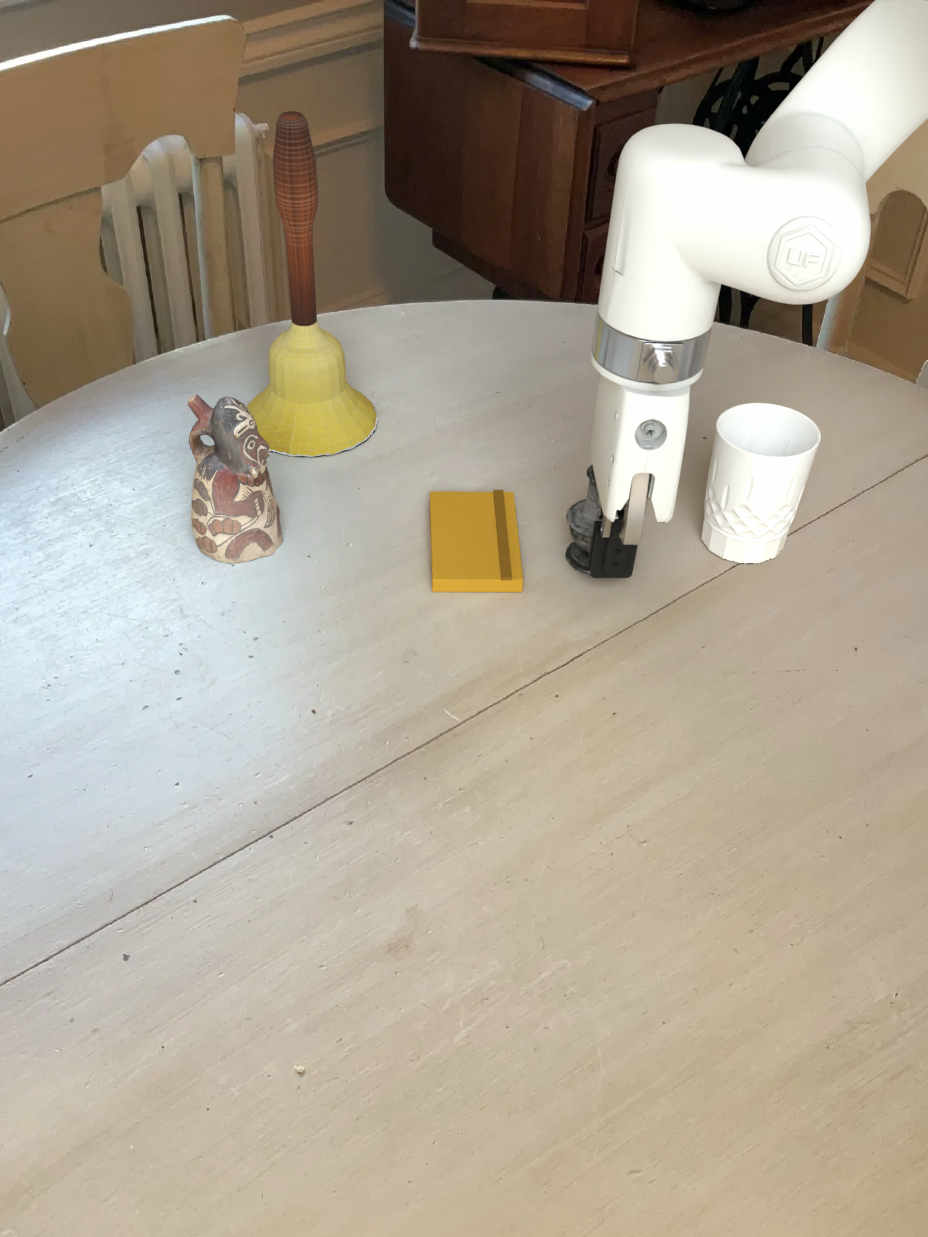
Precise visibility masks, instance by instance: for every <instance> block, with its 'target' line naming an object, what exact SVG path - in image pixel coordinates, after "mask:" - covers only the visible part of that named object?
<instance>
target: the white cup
mask: <svg viewBox="0 0 928 1237" xmlns="http://www.w3.org/2000/svg"><path fill="white" fill-rule="evenodd" d="M715 422H716V423H715V429H714V434H713V435H714V437H713V442H712V448H711V454H710V461H709V468H708V473H707V474H708V475H707V480H706V487H705V498H704V503H703V506H704V512H703V513H704V514H703V520H702V526H701V538H700V539H701V541H702V543H703V544H704V545H705V547H706V548H707V550H708V551H709V552H711V553H713V554H714V555H716V556H717V557H718V558H721V559H722V560H725V559H726V560H725V561H729V562H733V561H734V562H733V563H738V564H741V563H744V564H746V563H753V564H762V563H765V562H767V561H766V560H768V561H770V560H769V559H770V558H771V560H773V558H774V559H776V557H777V556H778V555H779V554H780V553H781V552H782V551H783V550H784V548H785V544H786V542H787V538H788V536H789V531H790V530H791V525H792V523H793V521H794V519H795V517H796V514H797V511H798V508H799V505H800V502H801V500H802V497H803V495H804V492H805V488H806V485H807V482H808V479H809V477H810V473H811V471H812V467H813V464H814V461H815V458H816V454H817V452H818V449H819V446H820V444H821V443H820V442H821V439H822V434H821V430H820V428H819V427H818V424H817V423H815V422H814V420H813V419H811V418H810V417H808V415H806V414H804V413H802V412H800V411H799V410H796V409H794V408H791V407H789V406H788V407H787V406H784V405H780V404H775V403H770V402H748V403H741V404H737V405H734V406H731V407H729V408H727V409H726V410H724V411H723V412H722V413H720V414H719V416H718V417H717V419H716V421H715ZM781 550H782V551H781ZM780 551H781V552H780ZM764 561H765V562H764ZM761 562H762V563H761Z"/></svg>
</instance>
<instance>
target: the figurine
mask: <svg viewBox="0 0 928 1237" xmlns="http://www.w3.org/2000/svg"><path fill="white" fill-rule="evenodd" d="M187 406H188V408H189V409H190V411H191V412H192V413H193V414H194V416H195V417H196V419H197V420H196V422H195V423H194V424H193V426H192V427H191V429H190V432H189V435H188V444H189V448H190V452H191V453H192V455H193V458H194V460H195V464H196V465H195V469H194V473H193V479H192V480H193V481H192V487H191V488H192V490H191V503H190V504H191V505H190V524H191V530H192V534H193V539H194V542H195V545H196V546H197V547H198V549H199V551H200V552H201V554H203V553H204V554H203V555H205V556H206V557H208V556H209V557H208V558H210V557H211V558H210V559H212V558H213V559H212V560H214V561H216V562H219V561H220V562H219V563H223V564H230V563H231V564H232V565H233V564H239V563H248V562H251V561H255V560H257V559H260V558H265V557H269V556H271V555H274V554H275V553H276V551H277V549H278V548H279V547H280V546H281V545H282V543H283V542H284V538H283V532H282V527H281V513H280V512H281V511H280V508H279V506H278V503H277V501H276V498H275V494H274V491H273V484H272V481H271V476H270V472H269V471H270V470H269V469H268V466H267V459H268V458H269V457H270V454H271V452H270V451H269V445H268V444H267V442H266V441H265V440H264V439H263V438H262V436H261V435H260V434H259V432H258V429H257V424H256V422H255V420H254V418H253V416H252V414H251V412H250V411H249V410H248V408H247V405H245V403H243V402H241V401H240V400H239V399H237V398H235V397H231V396H226V395H225V396H224V397H221V398H219V399H218V400H217V402H216V404H215V405H214V407H211V406H210V405H209V404H208V403H207V402H206V401H205V400H204V399H203V398H202V397H201V396H200V395H199V394H193V395H192V396H191V397H190V398H189V400H188V401H187ZM201 436H208V437H209V438H211V439H212V441H213V444H211V445H208V444H205V443H204V441H203V440H202V439H201Z"/></svg>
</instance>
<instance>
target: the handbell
mask: <svg viewBox="0 0 928 1237" xmlns="http://www.w3.org/2000/svg"><path fill="white" fill-rule="evenodd" d="M275 124H276V125H275V133H274V145H273V151H272V152H273V153H272V170H273V172H272V173H273V189H274V200H275V205H276V208H277V211H278V214H279V217H280V219H281V222H282V225H283V229H284V236H285V247H286V260H287V274H288V289H289V290H288V292H289V305H290V319H291V321H290V326H289V328H288V329H287V330H285V331H282V332H281V333H280V334H279V335H278V336H277V337H276V338H274V340H273V341H272V342H271V343H270V348H269V350H268V355H267V356H268V358H267V359H268V369H267V370H268V378H269V383H268V384H267V386H266V388H265V389H263V391H261V392H260V393H258V394H257V395H255V397H254V398H253V399H252V400H251V401H250V402H249V403H248V404H247V405H246V407H247V408H248V410H249V411H250V412H251V414H252V416H253V418H254V420H255V422H256V424H257V429H258V432H259V434H260V435H261V436H262V438H263V439H264V440H265V441H266V442H267V444H268V445H269V449H271V450H273V449H274V450H276V451H279V452H286V453H287V454H293V455H297V454H300V455H310V456H315V455H319V454H324V455H325V453H330V454H333V453H336V452H338V451H341V450H343V449H346V448H348V447H352V446H354V445H355V444H356V443H358V442H361V441H363V440H364V439H365V438H366V437H368V435H369V434H370V432H371V430H373V428H374V427H375V423H376V422H375V421H376V417H377V415H378V414H377V415H376V413H377V411H376V412H375V410H376V409H375V410H374V408H375V406H374V404H373V403H372V401H371V400H370V399H368V398H367V397H366V396H365V395H364V394H363V393H362V392H360V391H358V390H357V389H355V388H354V387H353V386H351V385H350V384H349V382H348V381H347V366H346V358H345V352H344V349H343V346H342V344H341V342H340V341H339V340H338V339H337V338H336V337H335V336H334V335H333V334H332V333H331V332H329V331H327V330H325V329H323V328H321V327H320V324H319V322H318V316H317V315H318V314H317V295H316V294H317V292H316V278H315V275H316V274H315V260H314V259H315V258H314V256H315V255H314V240H313V239H314V231H313V230H314V225H315V224H314V223H315V220H316V215H317V211H318V206H319V185H318V184H319V183H318V182H319V181H318V170H317V158H316V153H315V149H314V145H313V141H312V137H311V131H310V127H309V122H308V119H307V118H306V116H305V115H304V114H303V113H302V112H299V111H293V110H291V111H290V110H288V111H284V112H282V113H281V114H280V113H279V116H278V118H277V119H276V122H275ZM372 404H373V405H372ZM373 406H374V407H373Z"/></svg>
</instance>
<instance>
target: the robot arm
mask: <svg viewBox="0 0 928 1237" xmlns="http://www.w3.org/2000/svg"><path fill="white" fill-rule="evenodd" d="M926 121H928V0H874V1H873V2H871V3H870V4H869V5H868V6H867V7H866V8H865V9H864V10H863V11H862V12H860V14H859V15H858V16H857V17H855V19H853V21H851V22H850V24H848V26H847V27H846V28H845V29H844V30H843V31H842V32H841V33H840V34H839V35H838V36H837V37H836V38H835V40H834V41H832V43H831V44H830V45H829V47H828V48H827V49H826V50H825V51H824V52H823V53H822V55H821V56H820V57H819V58H818V59H817V60H816V62H814V64H813V65H812V66H811V67H810V68H809V70H808V71H807V72H806V73H805V75H804V76H803V77H802V78H801V79H800V80H799V82H798V83H797V84H796V85H795V86H794V88H793V89H792V90H791V91H790V92H789V93H788V95H787V96H786V97H785V98H784V99H783V100H782V101H781V103H780V104H779V105H778V107H776V109H775V110H774V111H773V113H772V114H771V115H770V117H769V118H768V119H767V120H766V121H765V123H764V124H763V126H762V127H761V128H760V130H759V131H758V133H757V135H756V136H755V138H754V139H753V141H752V143H751V145H750V146H749V149H748V151H747V153H746V155H745V158H744V156H743V154H742V151H741V148H740V147H739V146H738V145H737V144H736V143H735V142H734V140H732V139H731V138H730V137H728V136H727V135H726V134H723V133H721V132H718V131H716V130H713V129H711V128H708V127H704V126H700V125H695V124H686V123H664V124H656V125H651V126H648V127H645V128H643V129H641V130H639V131H637V132H636V133H634V134H632V136H631V137H630V138H629V139H628V140H627V141H626V143H624V146H623V148H622V150H621V153H620V155H619V158H618V163H617V169H616V173H615V174H616V176H615V182H614V190H613V195H612V196H613V197H612V204H611V210H610V215H609V216H610V218H609V224H608V231H607V238H606V245H605V253H604V259H603V267H602V274H601V279H600V280H601V281H600V288H599V294H598V301H597V308H596V316H595V323H594V329H593V336H592V342H591V343H592V344H591V350H590V362H591V364H592V366H593V368H594V369H595V371H597V372H598V373H599V375H600V379H599V384H598V390H597V396H596V401H595V407H594V413H593V422H592V429H591V440H590V456H591V462H592V464H593V469H594V474H595V479H596V484H597V489H598V493H599V497H598V505H597V519H602V521H594V528H593V534H592V540H591V546H590V552H589V558H588V564H589V568H590V574H589V575H590V576H591V577H592V578H593V579H629V578H630V577H632V575H633V572H634V567H635V562H636V557H637V551H638V546H640V545H641V544H642V537H643V531H644V530H643V529H644V522H645V516H646V513H647V508H648V504H649V500H651V504H652V508H653V511H654V515H655V520H656V522H657V523H662V524H668V523H670V521H671V520H672V518H673V517H674V511H675V506H676V500H677V496H678V489H679V485H680V477H681V472H682V464H683V459H684V453H685V447H686V440H687V431H688V422H689V414H690V400H691V399H690V398H691V386H692V385H693V384H695V383H696V382H697V381H699V379H700V378H701V377H702V375H703V373H704V368H705V362H706V358H707V354H708V349H709V345H710V344H709V343H710V340H711V334H712V332H713V331H712V330H713V326H714V320H715V315H716V310H717V306H718V302H719V298H720V297H719V296H720V294H721V293H720V292H721V288H722V285H724V286H726V287H729V288H733V289H734V290H735V289H736V290H739V291H740V292H741V291H742V292H745V293H747V294H750V295H753V296H756V297H759V298H762V299H764V300H768V301H772V302H776V303H780V304H786V305H812V304H816V303H817V304H818V303H820V302H823V301H826V300H828V299H830V298H832V297H834V296H836V295H838V294H839V293H841V292H842V291H843V290H844V289H846V288H847V287H848V286H849V285H850V284H851V283H852V282H853V281H854V279H855V278H856V277H857V275H858V274H859V272H860V271H861V269H862V268H863V266H864V263H865V261H866V258H867V256H868V252H869V249H870V243H871V242H870V241H871V234H872V227H871V226H872V223H871V214H870V213H871V212H870V205H869V198H868V192H867V185H866V184H867V182H868V181H869V180H870V179H871V178H872V177H873V175H874V174H876V172H877V171H878V170H879V169H880V168H881V167H882V166H883V164H885V162H887V161H888V159H889V158H890V157H891V156H892V154H894V153H895V151H897V150H898V149H899V148H900V147H901V146H902V145H903V143H905V142H906V140H907V139H908V138H909V137H910V136H912V134H913V133H914V132H915V131H916V130H918V128H919V127H920V126H921V125H922V124H924V123H925V122H926ZM592 464H591V465H592Z"/></svg>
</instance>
